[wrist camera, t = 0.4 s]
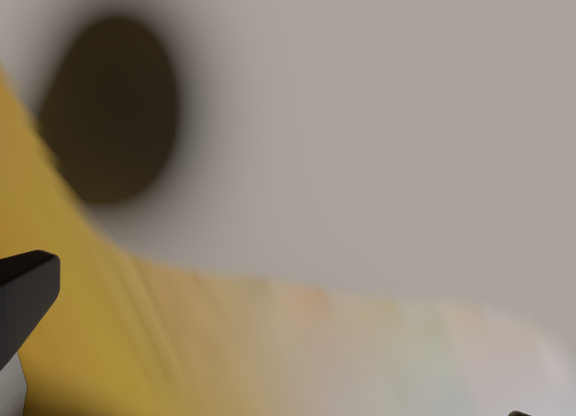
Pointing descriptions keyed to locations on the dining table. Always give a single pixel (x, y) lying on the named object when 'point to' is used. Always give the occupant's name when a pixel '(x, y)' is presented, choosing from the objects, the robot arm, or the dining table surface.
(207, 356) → the dining table surface
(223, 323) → the dining table surface
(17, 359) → the groove tray
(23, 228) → the dining table surface
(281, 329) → the dining table surface
